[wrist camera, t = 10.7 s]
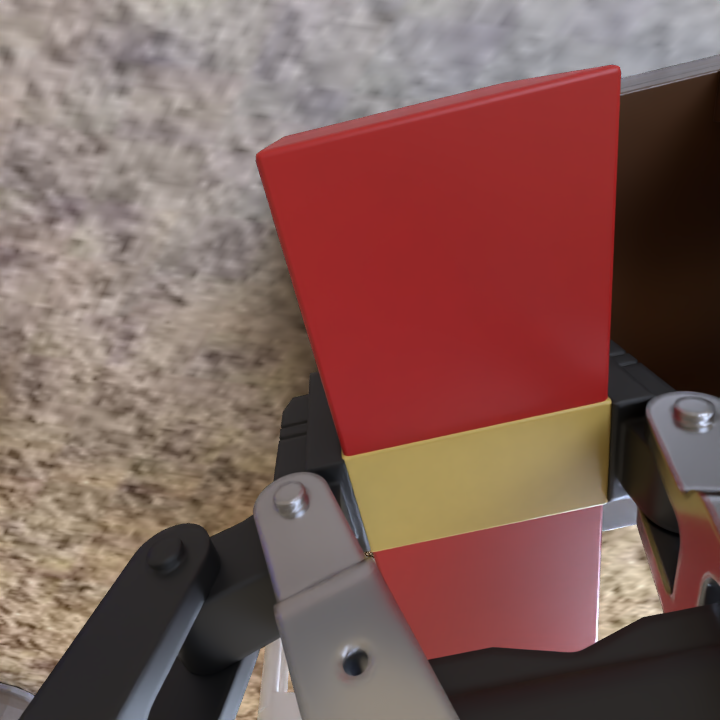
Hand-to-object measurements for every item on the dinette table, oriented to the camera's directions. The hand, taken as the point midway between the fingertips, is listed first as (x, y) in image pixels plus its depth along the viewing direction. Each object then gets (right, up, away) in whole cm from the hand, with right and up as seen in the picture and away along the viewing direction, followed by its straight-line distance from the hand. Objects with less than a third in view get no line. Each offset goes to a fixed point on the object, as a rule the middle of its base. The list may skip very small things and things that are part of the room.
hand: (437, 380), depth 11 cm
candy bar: (0, 0, 0) cm, 1 cm away
